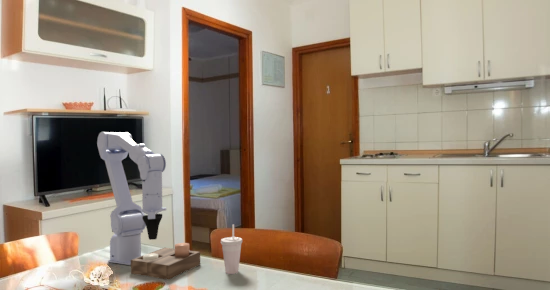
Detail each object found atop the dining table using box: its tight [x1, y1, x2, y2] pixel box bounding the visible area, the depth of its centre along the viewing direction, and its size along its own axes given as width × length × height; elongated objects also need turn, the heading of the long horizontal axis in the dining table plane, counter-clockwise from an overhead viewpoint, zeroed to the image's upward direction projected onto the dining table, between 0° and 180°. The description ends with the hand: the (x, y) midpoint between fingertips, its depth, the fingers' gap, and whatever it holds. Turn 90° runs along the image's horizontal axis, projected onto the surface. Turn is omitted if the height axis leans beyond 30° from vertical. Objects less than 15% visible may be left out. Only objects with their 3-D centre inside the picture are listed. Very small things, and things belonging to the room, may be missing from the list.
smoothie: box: [220, 224, 243, 275], centre depth 115 cm, size 6×6×14 cm
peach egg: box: [174, 242, 190, 258], centre depth 120 cm, size 4×4×3 cm
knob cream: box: [142, 252, 158, 261], centre depth 117 cm, size 4×4×3 cm
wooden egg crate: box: [130, 247, 201, 281], centre depth 118 cm, size 14×15×4 cm
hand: (152, 239), depth 117 cm, fingers closed
